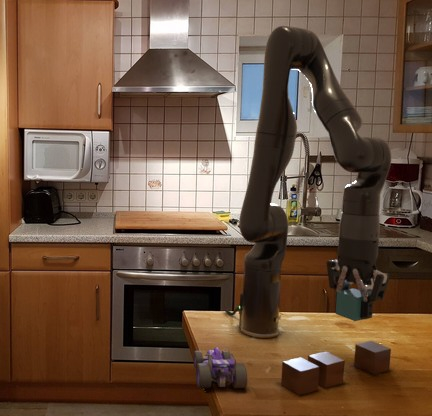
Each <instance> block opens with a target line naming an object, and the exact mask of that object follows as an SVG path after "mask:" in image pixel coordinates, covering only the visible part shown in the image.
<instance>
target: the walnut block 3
mask: <svg viewBox="0 0 432 416" xmlns="http://www.w3.org/2000/svg"><path fill="white" fill-rule="evenodd" d="M354 346H355V348H354V359H353V360H354V361H353V366H354V367H356V368H357V369H360V370H362V371H365V372H366V373H369V374H370V375H373V376H374V375H378V374H381V373H386V372H389V371H390V368H391V366H390V365H391V355H392V348H390V347H388V346H386V345H383V344H380V343H378V342H375V341H373V340H368V341H364V342H359V343H356V344H355V345H354Z"/></svg>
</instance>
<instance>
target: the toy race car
mask: <svg viewBox="0 0 432 416" xmlns="http://www.w3.org/2000/svg"><path fill="white" fill-rule="evenodd" d="M192 359H193V366H194V369H195V381H196V386H197V388H198V389H211V387H212V382H215V383H216V384H217V385H218V387H219V388H226V384H227V382H230V383H231V386H232V388H233V389H246V388H247V386H248V371H247V367H246V365H245V363H244V362H237V360H236V358H235V357H234V355H233V353H231V351H230V350H222V351H221V350H220V348H219V347H214V348H213V349H209V350H208V351H206V353H205V354H204V355H203V352H202V350H194V351H193V357H192Z"/></svg>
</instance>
